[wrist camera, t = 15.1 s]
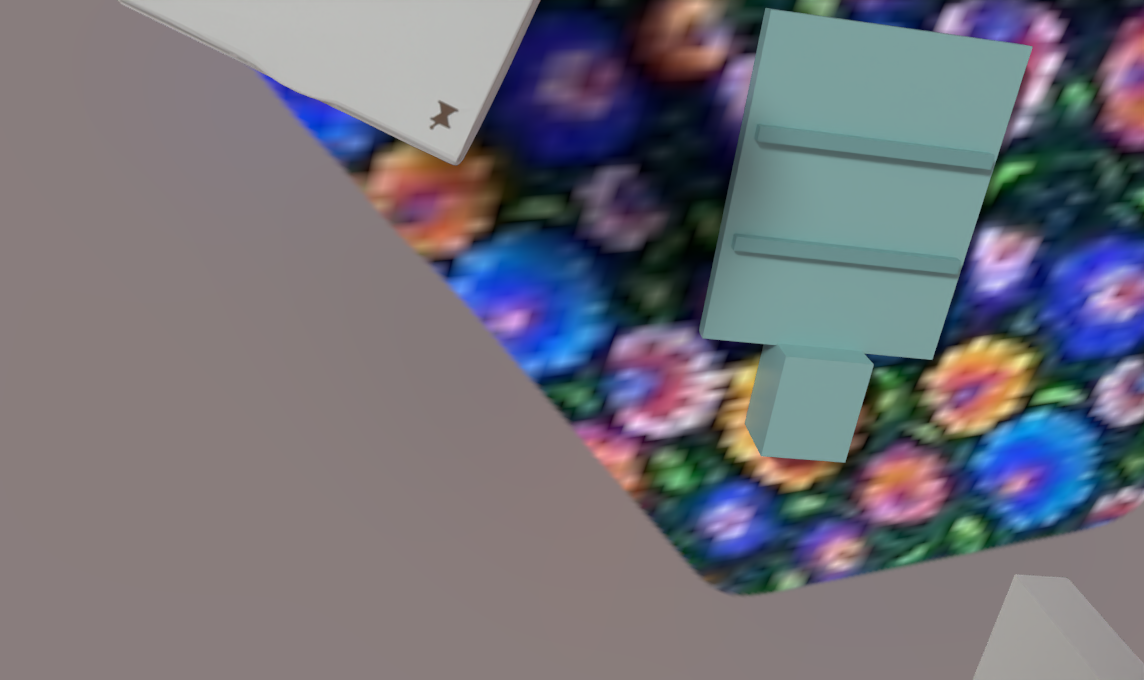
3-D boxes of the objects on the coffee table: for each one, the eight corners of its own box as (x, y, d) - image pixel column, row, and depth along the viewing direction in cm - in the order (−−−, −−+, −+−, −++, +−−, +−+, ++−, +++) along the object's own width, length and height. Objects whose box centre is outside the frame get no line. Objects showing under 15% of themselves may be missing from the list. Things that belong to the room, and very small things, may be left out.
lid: (758, 6, 37) (781, 12, 34) (1009, 41, 38) (1052, 50, 35) (675, 416, 44) (688, 450, 41) (888, 433, 45) (914, 468, 42)
